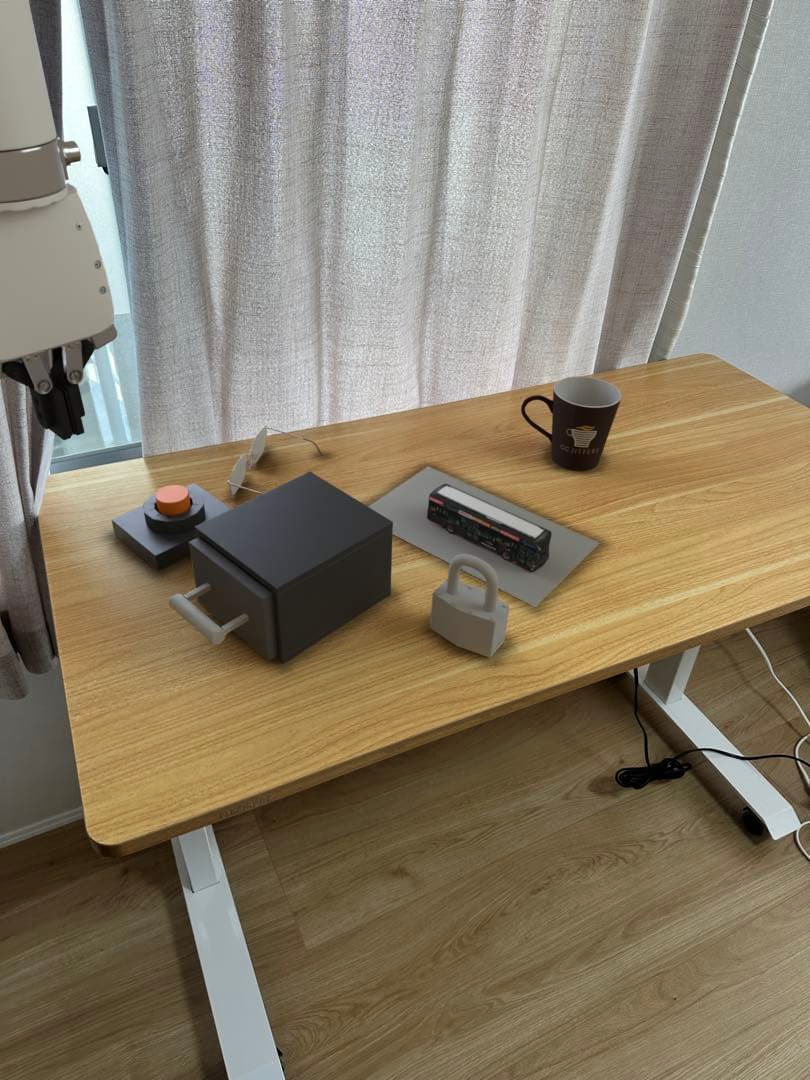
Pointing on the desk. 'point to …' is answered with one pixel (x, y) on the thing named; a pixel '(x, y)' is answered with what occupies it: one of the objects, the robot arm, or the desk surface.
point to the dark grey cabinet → (308, 556)
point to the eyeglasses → (256, 452)
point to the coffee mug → (579, 420)
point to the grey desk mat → (484, 533)
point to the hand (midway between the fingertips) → (65, 429)
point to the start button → (172, 500)
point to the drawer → (228, 601)
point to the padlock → (470, 609)
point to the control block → (166, 528)
